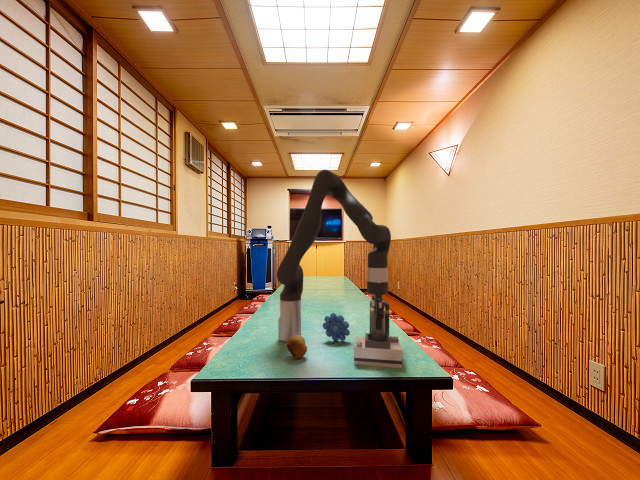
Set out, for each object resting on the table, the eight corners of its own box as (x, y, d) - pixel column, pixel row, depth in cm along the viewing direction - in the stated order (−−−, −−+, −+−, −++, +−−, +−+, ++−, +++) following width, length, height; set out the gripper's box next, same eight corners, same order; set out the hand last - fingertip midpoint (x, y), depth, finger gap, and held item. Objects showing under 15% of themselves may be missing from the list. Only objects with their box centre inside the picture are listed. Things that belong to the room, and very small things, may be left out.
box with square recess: (353, 364, 100) (353, 341, 100) (355, 352, 110) (355, 331, 110) (401, 368, 97) (401, 344, 97) (399, 355, 107) (399, 334, 108)
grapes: (321, 344, 120) (321, 315, 120) (323, 338, 126) (323, 311, 126) (349, 345, 118) (349, 315, 119) (349, 339, 125) (349, 312, 125)
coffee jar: (391, 349, 114) (391, 302, 114) (370, 348, 115) (370, 301, 115) (387, 341, 124) (387, 297, 124) (368, 340, 124) (368, 297, 124)
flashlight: (371, 338, 101) (371, 306, 102) (369, 334, 107) (369, 303, 107) (386, 339, 101) (386, 306, 101) (384, 334, 106) (384, 303, 107)
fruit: (300, 363, 101) (300, 340, 101) (281, 358, 105) (281, 336, 105) (311, 356, 107) (311, 334, 107) (293, 351, 111) (293, 331, 111)
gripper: (365, 277, 112) (365, 321, 111) (369, 282, 97) (369, 333, 97) (384, 277, 111) (384, 322, 111) (391, 282, 97) (392, 333, 97)
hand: (377, 327), depth 104 cm, fingers closed on flashlight, 5 cm apart
